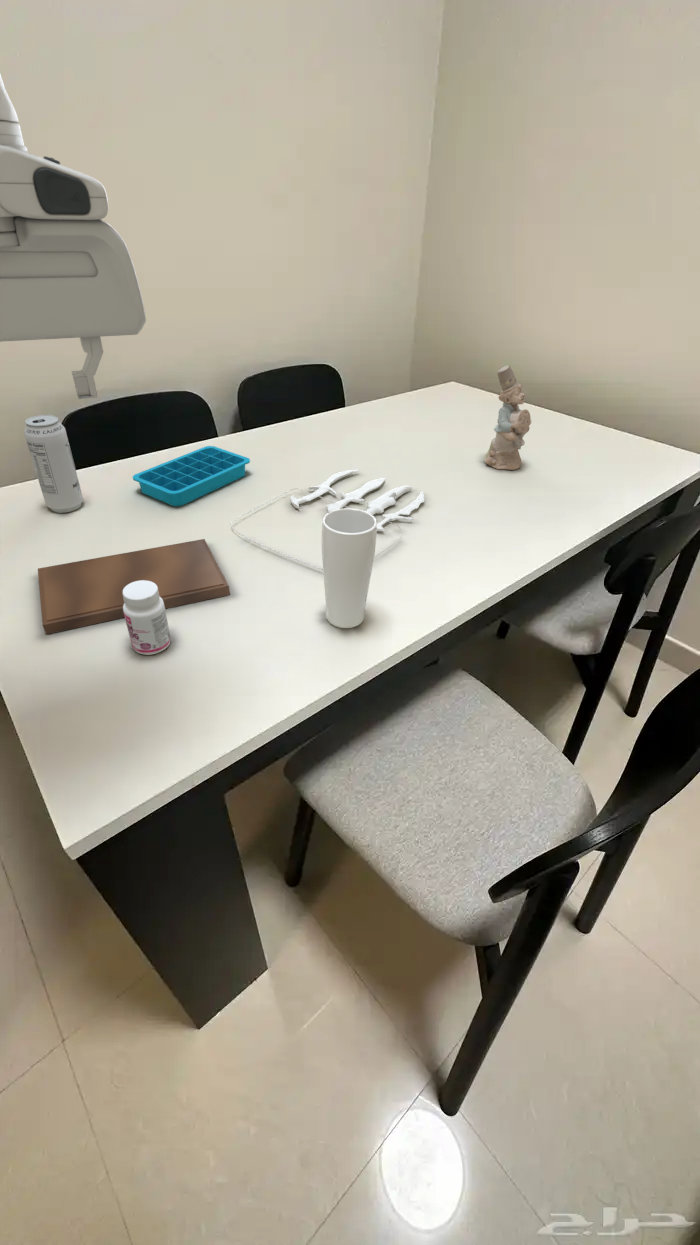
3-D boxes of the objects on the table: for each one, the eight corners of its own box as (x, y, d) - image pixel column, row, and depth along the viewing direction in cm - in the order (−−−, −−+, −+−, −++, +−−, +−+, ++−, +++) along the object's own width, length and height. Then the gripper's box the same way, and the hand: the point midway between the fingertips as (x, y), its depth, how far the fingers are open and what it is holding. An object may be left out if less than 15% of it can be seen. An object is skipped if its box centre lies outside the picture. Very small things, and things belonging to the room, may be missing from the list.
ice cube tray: (253, 474, 115) (253, 459, 113) (176, 510, 102) (174, 495, 100) (211, 458, 120) (209, 444, 118) (132, 492, 106) (128, 476, 105)
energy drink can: (89, 508, 101) (67, 422, 92) (53, 517, 98) (27, 429, 88) (77, 495, 104) (55, 411, 95) (42, 503, 101) (15, 417, 92)
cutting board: (46, 634, 74) (42, 624, 73) (40, 577, 84) (37, 567, 83) (229, 594, 83) (229, 585, 82) (205, 547, 92) (204, 538, 91)
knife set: (452, 502, 109) (453, 496, 108) (344, 584, 86) (345, 578, 85) (341, 465, 120) (341, 460, 119) (219, 530, 97) (218, 523, 96)
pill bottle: (123, 649, 72) (109, 594, 67) (147, 628, 76) (136, 574, 71) (155, 660, 71) (144, 605, 66) (178, 637, 75) (169, 583, 70)
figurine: (473, 462, 124) (491, 364, 112) (493, 452, 130) (512, 357, 117) (509, 475, 120) (533, 374, 108) (529, 464, 125) (553, 366, 113)
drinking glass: (369, 634, 77) (378, 535, 68) (318, 632, 77) (320, 532, 68) (369, 604, 82) (377, 508, 73) (321, 602, 82) (323, 506, 73)
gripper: (-272, 172, 31) (-146, 430, 39) (129, 187, 38) (162, 402, 47) (-237, 169, 35) (-131, 402, 44) (116, 183, 43) (148, 380, 51)
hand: (23, 402), depth 45 cm, fingers open, 8 cm apart
